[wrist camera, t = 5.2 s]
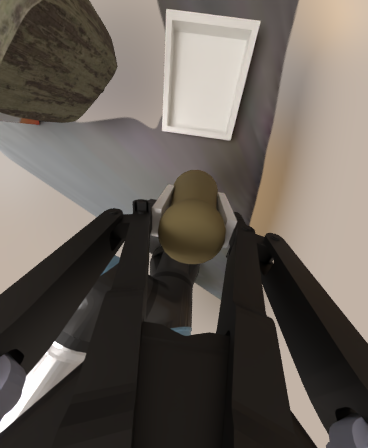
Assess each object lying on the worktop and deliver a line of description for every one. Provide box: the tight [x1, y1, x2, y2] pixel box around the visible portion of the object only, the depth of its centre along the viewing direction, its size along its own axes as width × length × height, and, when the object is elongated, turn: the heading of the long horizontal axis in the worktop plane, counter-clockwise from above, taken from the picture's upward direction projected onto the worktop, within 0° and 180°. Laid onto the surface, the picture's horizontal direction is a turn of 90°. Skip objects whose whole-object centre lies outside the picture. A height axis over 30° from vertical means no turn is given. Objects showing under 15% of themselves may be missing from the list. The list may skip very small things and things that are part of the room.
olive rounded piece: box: [158, 170, 226, 264], centre depth 14 cm, size 6×6×11 cm
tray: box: [162, 9, 260, 140], centre depth 22 cm, size 13×12×3 cm
